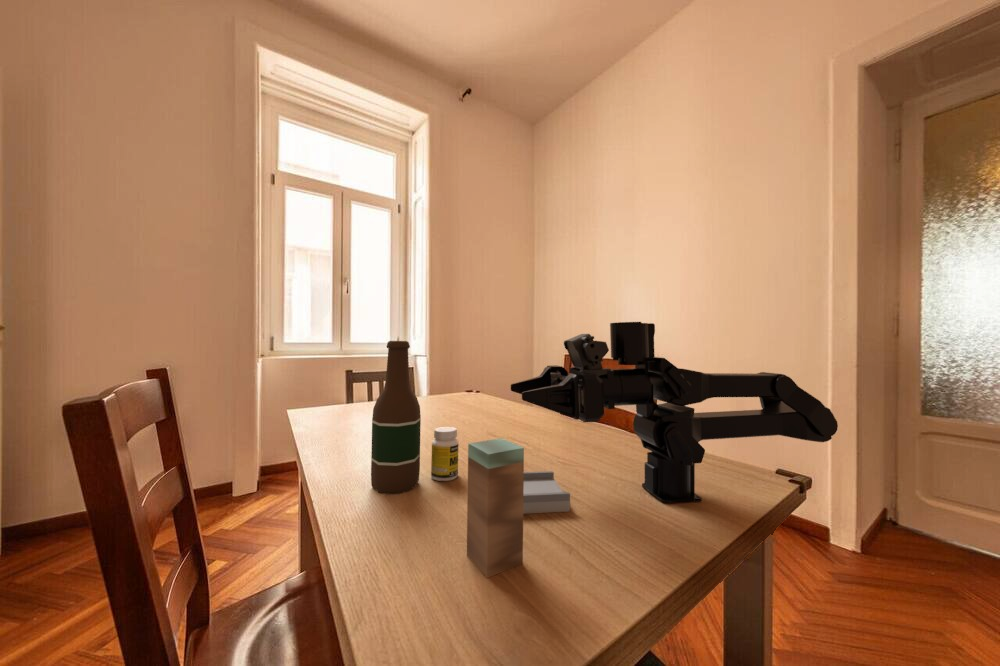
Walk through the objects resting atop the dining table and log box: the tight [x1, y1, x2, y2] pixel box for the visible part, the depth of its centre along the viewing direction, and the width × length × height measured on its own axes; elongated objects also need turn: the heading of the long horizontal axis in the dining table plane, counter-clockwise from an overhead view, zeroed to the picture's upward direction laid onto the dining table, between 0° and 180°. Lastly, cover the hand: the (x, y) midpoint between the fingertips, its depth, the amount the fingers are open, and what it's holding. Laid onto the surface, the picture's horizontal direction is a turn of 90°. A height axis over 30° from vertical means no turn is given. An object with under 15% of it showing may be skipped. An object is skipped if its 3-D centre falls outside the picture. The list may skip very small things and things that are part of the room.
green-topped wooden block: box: [466, 437, 525, 579], centre depth 40 cm, size 4×4×12 cm
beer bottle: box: [370, 340, 422, 495], centre depth 60 cm, size 8×8×24 cm
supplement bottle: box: [430, 426, 460, 482], centre depth 64 cm, size 5×5×8 cm
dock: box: [523, 470, 571, 515], centre depth 55 cm, size 12×9×2 cm
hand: (515, 391), depth 54 cm, fingers open, 9 cm apart
